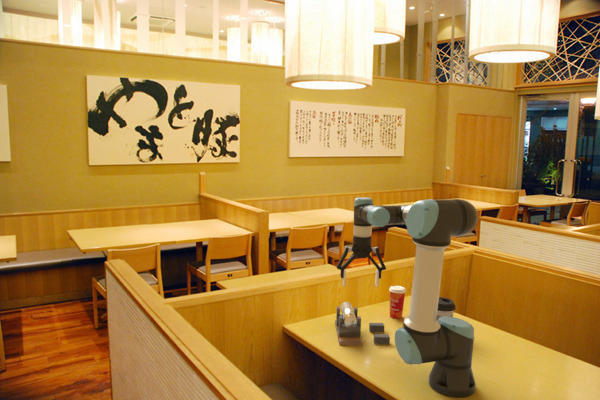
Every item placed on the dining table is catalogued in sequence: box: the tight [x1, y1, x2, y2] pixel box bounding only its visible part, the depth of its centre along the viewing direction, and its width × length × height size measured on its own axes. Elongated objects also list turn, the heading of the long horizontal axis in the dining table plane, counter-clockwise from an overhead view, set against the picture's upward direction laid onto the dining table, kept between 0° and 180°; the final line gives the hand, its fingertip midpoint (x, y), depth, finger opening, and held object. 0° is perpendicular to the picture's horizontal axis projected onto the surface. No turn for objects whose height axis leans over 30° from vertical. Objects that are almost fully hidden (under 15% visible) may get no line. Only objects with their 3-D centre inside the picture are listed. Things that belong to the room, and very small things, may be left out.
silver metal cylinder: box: [340, 301, 357, 329], centre depth 202 cm, size 18×5×5 cm, turn 1°
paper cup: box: [388, 285, 407, 320], centre depth 224 cm, size 8×8×14 cm
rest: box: [368, 322, 391, 345], centre depth 201 cm, size 15×6×3 cm, turn 1°
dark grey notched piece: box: [334, 306, 363, 346], centre depth 203 cm, size 22×9×10 cm, turn 1°
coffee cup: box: [436, 296, 457, 321], centre depth 205 cm, size 11×11×15 cm
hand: (360, 286), depth 198 cm, fingers open, 13 cm apart
